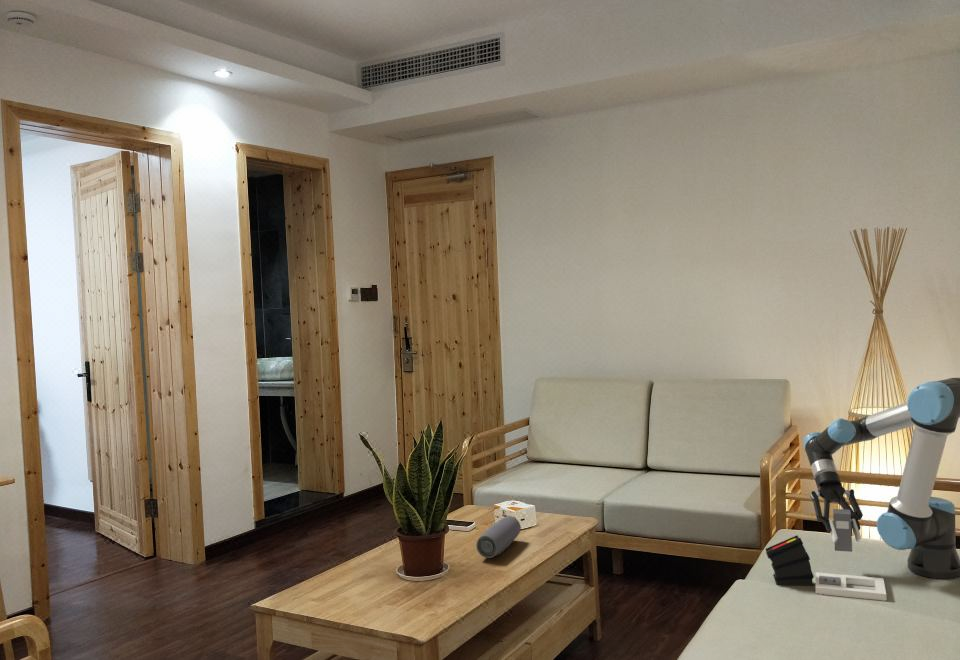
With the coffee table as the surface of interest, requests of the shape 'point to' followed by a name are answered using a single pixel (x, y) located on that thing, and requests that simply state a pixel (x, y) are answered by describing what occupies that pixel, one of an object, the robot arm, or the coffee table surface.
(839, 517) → the grey tall block
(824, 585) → the white flat rectangular frame
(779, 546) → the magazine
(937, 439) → the robot arm
